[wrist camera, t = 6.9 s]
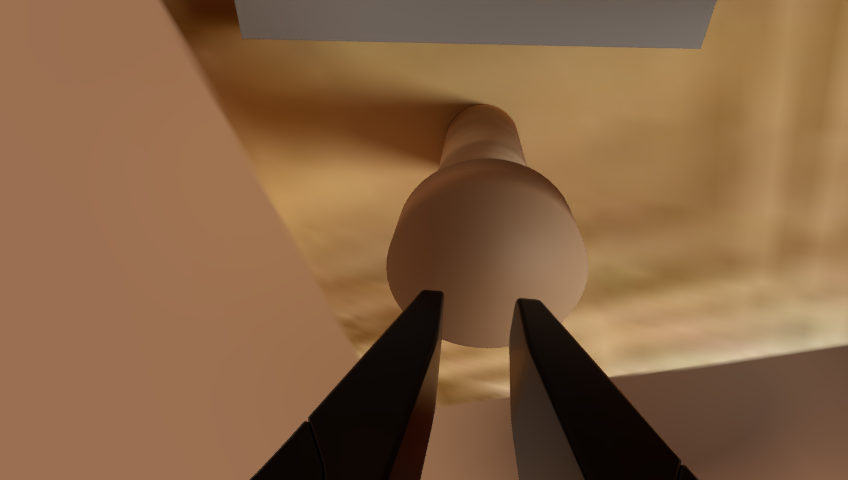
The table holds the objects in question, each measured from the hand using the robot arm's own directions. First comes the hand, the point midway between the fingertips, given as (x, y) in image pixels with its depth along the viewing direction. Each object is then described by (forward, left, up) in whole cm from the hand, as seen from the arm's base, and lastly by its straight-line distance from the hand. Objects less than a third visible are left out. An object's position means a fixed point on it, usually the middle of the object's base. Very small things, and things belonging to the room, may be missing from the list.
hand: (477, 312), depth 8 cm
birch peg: (0, 0, -11) cm, 11 cm away
